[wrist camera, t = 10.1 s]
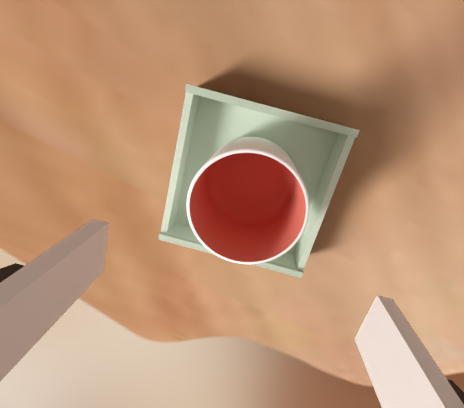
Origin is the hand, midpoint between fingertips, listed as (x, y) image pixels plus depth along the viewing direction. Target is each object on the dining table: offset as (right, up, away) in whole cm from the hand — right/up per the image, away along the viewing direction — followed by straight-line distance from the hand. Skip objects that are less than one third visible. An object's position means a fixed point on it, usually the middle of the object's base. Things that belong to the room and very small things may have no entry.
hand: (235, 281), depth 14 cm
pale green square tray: (+2, +7, +19) cm, 21 cm away
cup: (+2, +7, +19) cm, 20 cm away
